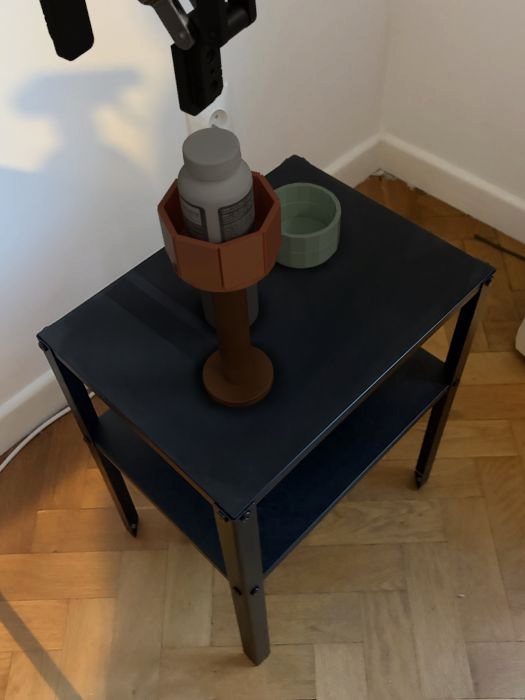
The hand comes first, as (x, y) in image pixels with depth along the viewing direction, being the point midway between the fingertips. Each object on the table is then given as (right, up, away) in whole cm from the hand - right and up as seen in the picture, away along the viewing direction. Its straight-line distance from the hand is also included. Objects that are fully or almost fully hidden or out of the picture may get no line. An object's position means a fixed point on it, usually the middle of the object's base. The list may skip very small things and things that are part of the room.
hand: (136, 78), depth 38 cm
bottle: (+3, -10, +40) cm, 41 cm away
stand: (+4, -17, +35) cm, 39 cm away
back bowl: (+11, -2, +45) cm, 47 cm away
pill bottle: (+3, -6, +20) cm, 21 cm away
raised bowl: (+3, -6, +20) cm, 21 cm away
